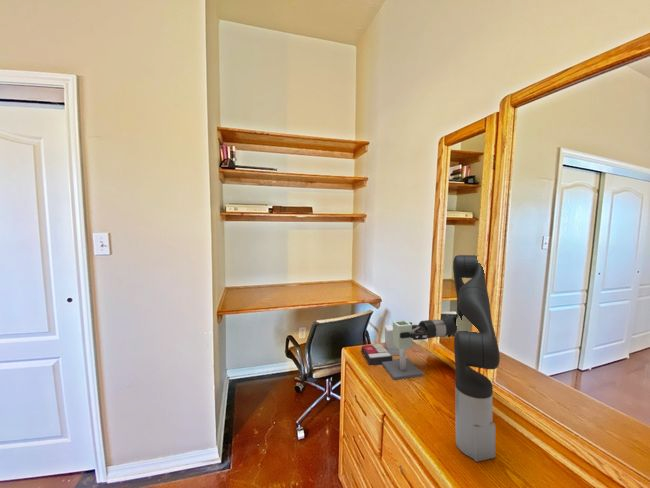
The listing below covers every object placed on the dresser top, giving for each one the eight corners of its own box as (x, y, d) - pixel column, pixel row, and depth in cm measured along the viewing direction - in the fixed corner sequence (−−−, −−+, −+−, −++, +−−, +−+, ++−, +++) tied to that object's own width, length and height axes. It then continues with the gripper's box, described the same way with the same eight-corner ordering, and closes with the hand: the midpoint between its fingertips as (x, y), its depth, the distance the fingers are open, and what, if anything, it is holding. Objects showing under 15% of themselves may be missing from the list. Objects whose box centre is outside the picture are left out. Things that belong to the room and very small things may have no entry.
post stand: (422, 375, 113) (422, 347, 113) (393, 380, 111) (393, 351, 110) (406, 360, 127) (406, 334, 126) (381, 363, 125) (380, 337, 124)
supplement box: (402, 355, 132) (402, 330, 131) (387, 355, 133) (386, 330, 132) (399, 348, 139) (398, 324, 139) (384, 348, 140) (384, 325, 139)
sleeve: (412, 347, 114) (411, 324, 114) (399, 349, 113) (398, 326, 112) (405, 341, 120) (405, 320, 119) (393, 343, 119) (392, 321, 118)
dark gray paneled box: (381, 342, 139) (392, 354, 125) (382, 351, 139) (392, 363, 125) (361, 344, 138) (369, 357, 123) (361, 353, 138) (370, 366, 123)
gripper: (423, 315, 125) (389, 318, 123) (442, 326, 111) (404, 330, 108) (423, 330, 126) (390, 334, 123) (442, 343, 112) (404, 348, 109)
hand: (397, 332), depth 116 cm, fingers closed on sleeve, 6 cm apart
